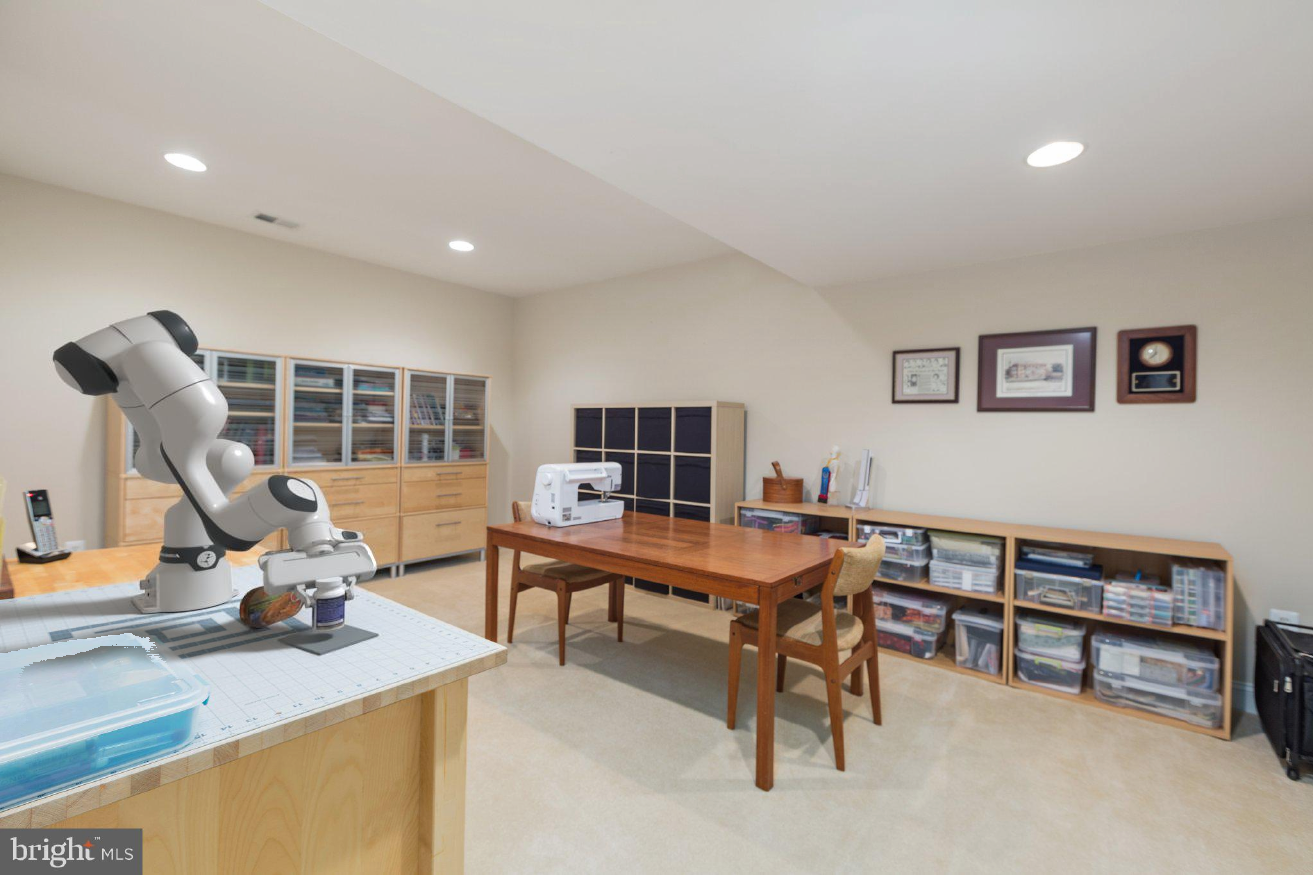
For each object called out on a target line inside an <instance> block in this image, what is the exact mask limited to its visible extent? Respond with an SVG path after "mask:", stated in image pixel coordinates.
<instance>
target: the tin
mask: <svg viewBox="0 0 1313 875" xmlns="http://www.w3.org/2000/svg"><path fill="white" fill-rule="evenodd" d="M304 591H305V592H306V593H307V590H304ZM304 606H305V605H304V602H302V601H301V600H300V599H299V598H297V597H296V596H295V593H294V592H290V593H284V594H278V595H272V596H271V595H268V594H267V593H265V591H264V585H261V586H258V587H254V588H252V589H250V590H248V591H247V592H246V593H245V594H244V596H243V597H242V598H241V600H240V602H239V607H238V608H239V610H238V612H239V620H240V621H241V623H242V624H243V625H244V626H246V627H249V628H259V629H262V628H266V627H268V626H271V625H274V624H277V623H279V622H281V620H282V621H284V620H287V619H289V618H291V617H294V616H296V615H297V614H298V613H299V612H300V611H301V610H302V609H303V607H304Z"/></svg>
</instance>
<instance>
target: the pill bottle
mask: <svg viewBox="0 0 1313 875" xmlns="http://www.w3.org/2000/svg"><path fill="white" fill-rule="evenodd" d="M342 585H343V584H342V577H332V578H326V579H320V580H316V583H315V586H316V587H317V588H316V590H314V591H313V593H312V595H311V596H313V595H314V597H315V599H314V600H315V601H316V604H315V605H314V607H312V608H311V629H312V630H313V631H314V632H319V633H325V632H332V631H336V630H339V629H341V628H342V627H343V626H344V624H346V623H345V622H346V621H345V620H346V619H345V615H346V613H345V612H346V611H345V610H346V609H345V608H346V601H345V589H344V588H343V587H342Z"/></svg>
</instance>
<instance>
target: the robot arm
mask: <svg viewBox="0 0 1313 875" xmlns="http://www.w3.org/2000/svg"><path fill="white" fill-rule="evenodd" d="M198 347H199V340H198V338H197V335H196V332H195V331H194V329H193V327H192V326H191V325H190V323H189V322H187V321H186V320H185V319H183V317H181V315H179V314H178V313H176V312H174V311H170V310H169V309H163V310H162V309H160V310H154V311H150V312H146V314H144V315H140V316H139V315H138V316H136V317H132V318H131V317H130V318H127V319H124V320H121V321H117V322H114V323H112V324H108V326H107V327H104V328H101V329H99V330H96V331H95V332H94V331H93V332H92V333H90V334H88V335H85V336H84V337H81V338H79V339H78V340H75V341H69V342H67V343H65V344H63V345H62V346H59V347H58V348H56V349H55V350H54V351H53V354H52V362H53V363H54V368H55V371H56V373H57V375H58V376H59V378H60V379H61V380H62V381H63V382H64V383H65V384H66V385H67V386H68V387H70V388H72V389H74V390H76V391H78V392H79V393H81V394H82V395H86V396H93V397H98V396H104V395H110V397H111V398H112V399H113V401H114V402H115V404H116V405H117V406H118V408H119V409H120V410H121V412H122V413H123V415H124V416H125V418H126V419H127V420H128V422H129V423H130V424H131V426H132V428H134V431H135V432H136V434H137V436H138V439H139V443H140V446H139V448H138V449H137V450H136V452H135V456H134V463H133V464H134V467H135V469H136V471H137V474H139V475H140V476H141V477H142V478H144V479H146V480H150V481H152V482H153V481H154V482H158V483H161V484H165V485H167V484H168V485H179V486H180V488H181V490H182V492H183V494H182V496H181V498H180V499H179V501H178V502H176V503H175V504H172V505H171V506H170V507H168V508H167V509H166V511H165V513H164V515H163V519H164V520H163V545H161V546H160V547H161V548H160V551H159V553H158V554H159V556H158V561H159V562H158V564H156V565H155V566H154V567H153V568H152V570H151V571H149V573H147V574H146V576H145V579H141V580H139V590H140V591H144V592H143V593H140V594H136V595H134V596H131V602H132V603H133V605H135V607H136V608H137V609H138V610H139V611H140V612H141V613H142V614H153V613H168V612H169V613H172V612H185V611H193V610H200V609H206V608H211V607H214V606H218V605H222V604H223V603H226V602H229V601H230V600H231V599H232V598H233V597H235V596H237V595H239V594H240V592H239V589H236V588H234V582H233V566H232V562H230V561H229V560H227V559H226V558H225V556H226V555H227V551H228V552H235V553H236V552H238V553H239V552H240V553H241V552H242V553H243V552H244V553H245V552H247V551H249V550H251V549H252V548H253V547H255V546H257V545H258V544H259V543H260V542H262V541H263V540H265V538H266V537H267V536H270V535H271V534H273V533H274V532H276V531H278V530H279V529H281V528H284V529H286V531H287V538H286V539H287V542H288V547H289V548H283V549H278V550H268V551H265V553H263V554H260V556H259V557H258V559H257V563H258V568H259V569H260V570H261V571H262V572H263V574H262V579H263V580H262V583H263V585H262V586H264V591H265V593H267V594H268V595H271V596H272V595H278V594H284V593H290V592H294V593H295V596H296V597H297V598H299V599H300V600H301V601H302V602H304V605H303V606H304V608H305V609H312V607H314V605H315V604H316V601H315V600H314V599H315V597H314V595H313V594H312V595H313V596H312V595H309V594H308V593H307V591H308V590H313V589H317V587H316V586H315V583H316V580H320V579H326V578H332V577H342V585H343V584H344V585H345V587H347V588H348V589H344V591H345V602H348V601H353V600H354V598H355V591H354V587H355V585H356V583H357V582H361V581H367V580H371V579H372V578H373V577H374V575H375V574H376V571H377V569H378V565H377V564H378V563H377V562H376V558H375V556H374V554H373V552H372V550H371V548H370V547H369V545H367V544H366V543H365V542H363V540H364V535H363V533H362V532H360V531H355V530H347V529H344V528H343V529H342V528H339V527H335V525H334V524H333V523H332V521H331V512H330V508H329V505H328V503H327V500H326V498H325V495H324V493H323V492H322V489H321V488H320V486H319V485H318V484H317V483H316V482H315V481H314V480H311V479H309V478H302V477H299V478H296V477H293V476H289V475H285V474H274V475H271V476H269V477H267V478H265V479H264V480H261V481H260V482H259V483H257V484H255V485H254V486H252V487H251V488H249V489H248V490H246V491H245V492H244V493H241V494H240V495H238V496H237V497H235V498H234V499H232V500H230V499H231V496H232V494H233V493H234V491H235V490H236V488H237V487H238V486H239V485H240V484H242V483H243V482H244V481H246V480H247V479H248V478H249V477H250V476H251V474H252V472H253V470H254V467H255V456H254V454H253V451H252V449H251V448H250V446H248V445H246V444H245V443H242V442H238V441H235V440H229V439H225V438H217V436H219V435H220V433H221V432H222V430H223V428H224V426H225V425H226V422H227V420H228V416H229V404H228V401H227V399H226V397H225V396H224V395H223V393H222V391H220V389H219V388H218V386H217V385H216V384H215V383H214V382H213V381H212V380H211V378H210V377H209V376H208V375H207V374H206V373H205V372H204V370H203V369H202V368H201V367H200V366H199V365H197V364H196V362H195V361H194V360H192V359H191V358H192V356H193V355H195V353H196V352H198ZM304 590H306V592H305V591H304Z"/></svg>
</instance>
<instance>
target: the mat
mask: <svg viewBox="0 0 1313 875" xmlns="http://www.w3.org/2000/svg"><path fill="white" fill-rule="evenodd" d="M376 637H379V633H376V632H373V631H369V630H367V629H364V628H359V627H356V626H352V625H349V624H347V623H344V626H343V627H342V628H341V629H339V630H336V631H332V632H325V633H319V632H314V631H313V630H312V628H311V629H307V630H303V631H300V632H296V633H293V634H289V635H286V636H283V637H280V638H277V641H278V642H280V643H282V644H283V643H284V644H287V645H289V646H292V647H296V648H299V649H301V650H304V651H307V652H309V653H313V654H316V655H319V656H323V655H325V654H328V653H332V652H334V651H335V652H336V651H337V649H338V650H340V649H343V648H346V647H347V648H348V647H349V645H350V646H353V645H356V644H359V643H361V642H364V641H367V640H370V639H374V638H376Z"/></svg>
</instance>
